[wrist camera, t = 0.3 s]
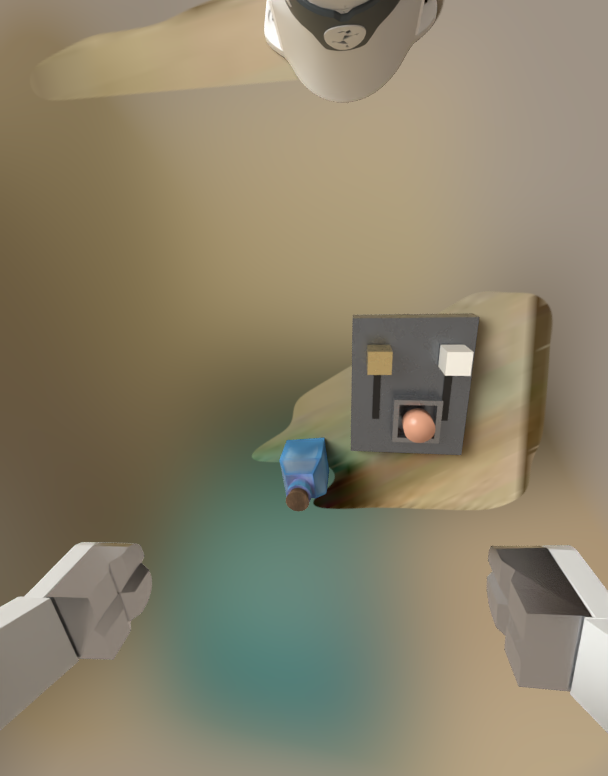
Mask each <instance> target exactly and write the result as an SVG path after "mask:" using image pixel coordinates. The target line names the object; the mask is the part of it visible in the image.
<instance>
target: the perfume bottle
mask: <svg viewBox="0 0 608 776" xmlns="http://www.w3.org/2000/svg"><path fill="white" fill-rule="evenodd" d="M280 465H281V470H282V475H283V480H284V485H285V491H286V495H287V498H286V503H287V505H288V507H289V508H291V509H292V510H294V511H303V510H305V509H306V508H307V507H308V505H309V502H310V500H311V498H317V497H320V496H322V495H324V494H326V492H327V484H328V476H329V475H328V474H329V467H328V460H327V453H326V446H325V439H324V438H313V439H299V440H287V441H286V444H285V447H284V450H283V452H282V455H281V458H280Z"/></svg>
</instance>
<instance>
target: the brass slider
mask: <svg viewBox="0 0 608 776" xmlns="http://www.w3.org/2000/svg"><path fill="white" fill-rule="evenodd" d="M392 357H393V351H392V349H391V346H390V345H367V375H392Z"/></svg>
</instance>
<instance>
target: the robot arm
mask: <svg viewBox="0 0 608 776" xmlns="http://www.w3.org/2000/svg"><path fill="white" fill-rule="evenodd" d="M424 1H425V0H267V3H266V13H265V24H264V34H265V38H266V41H267V43H268V45H269V46H270V47H271V48H272V49H273V50H275V51H276V52H277V53H279V54H280V55H282V56H283V57H285V58H286V59H287V60H288V62H289V63H290V65H291V66H292V68H293V70H294V72H295V73H296V75H297V76H298V78H299V79H300V81H301V82H302V83H303V84H304V85H305V86H306V87H307V88H308V89H309V90H310V91H311V92H313V93H314V94H316V95H317V96H319V97H321V98H323V99H326V100H329V101H333V102H341V103H344V102H353V101H357V100H361V99H363V98H365V97H368V96H370V95H371V94H373V93H375V92H376V91H378V90H379V89H380V88H381V87H383V86H384V85H385V84H386V83H387V82H388V81H389V79H391V77H392V76H393V75H394V74H395V72H396V71H397V69H398V68H399V66H400V65H401V63H402V61H403V59H404V58H405V56H406V54H407V52H408V51H409V49H410V48H411V46H412V45H413V44H414V43H415V42H416V41H417V40H419V39H420V38H421V37H422V36H423V35H424V34H425V33H426V32H427V31H428V30H429V29H430V28H431V27H432V26H433V24H434V22H435V20H436V15H437V0H427V1H428V2H427V3H426V4H424ZM273 20H274V21H273ZM143 558H144V553H143V551H142V548H141V546H140V545H138V544H135V543H108V542H107V543H106V542H99V543H93V542H82V543H79V544H77V545H75V546H74V547H73V548H72V549H71V550H70V551H69V552H68V553H67V554H66V555H65V556H64V557H63V558H62V559H61V560H60V561H59V562H58V563H57V564H56V565H55V566H54V567H53V568H52V569H51V570H50V571H49V572H48V573H47V574H46V575H45V576H44V577H43V578H42V579H41V580H40V581H39V582H38V583H37V584H36V586H34V588H32V589H31V591H29V592H28V593H27V594H26V596H25V597H17V598H16V599H14V600H12V601H10V602H8V603H7V604H5V605H3V606H1V607H0V730H1V729H2V728H3V727H4V726H6V725H7V724H8V723H9V722H10V721H11V720H12V719H14V718H15V717H16V716H17V715H18V714H19V713H20V712H21V711H22V710H24V709H25V708H26V707H27V706H28V705H29V704H30V703H32V702H33V701H34V700H35V699H36V698H37V697H38V696H40V695H41V694H42V693H43V692H44V691H45V690H46V689H47V688H49V687H50V686H51V685H52V684H53V683H54V682H55V681H56V680H58V679H59V678H60V677H61V676H62V675H63V674H64V673H65V672H66V671H68V670H69V669H70V668H71V667H72V666H73V665H74V664H76V663H77V662H78V661H79V660H78V659H112V660H113V659H114V658H115V656H116V654H117V653H118V651H119V649H120V648H121V646H122V644H123V643H124V641H125V639H126V638H127V636H128V634H129V633H130V631H131V623H130V621H131V620H133V619H134V618H135V617H136V616H138V615H139V614H140V613H142V611H143V609H144V608H145V606H146V604H147V602H148V600H149V597H150V593H151V589H152V578H151V574H150V571H149V569H147V568H146V567H145V566H144V565H143V564H142V563H141V562H142V560H143ZM488 561H489V564H490V566H491V569H492V571H493V572H492V573H491V574H490V575H489V576H488V577H487V595H488V603H489V607H490V610H491V614H492V617H493V620H494V623H495V626H496V627H497V629H499V630H500V631H501V632H502V633H503V634H504V635H505V636H506V637H505V652H506V655H507V657H508V660H509V663H510V665H511V668H512V670H513V673H514V676H515V678H516V681H517V683H518V686H519V687H529V688H539V689H551V690H560V691H571V692H570V695H572V697H573V698H574V699H575V700H576V701H577V702H578V703H579V704H580V705H581V706H582V707H583V708H584V709H585V710H586V711H587V712H588V713H589V714H590V715H591V716H592V717H593V718H594V720H595V721H596V722H597V723H598V724H599V725H600V726H601V727H602V728H603V729H604V730H605V731H606V732H607V733H608V591H607V589H606V588H605V587H604V585H603V584H602V583H601V581H600V580H599V579H598V578H597V577H596V575H595V574H594V572H593V571H592V570H591V568H590V567H589V566H588V564H587V563H586V562H585V560H584V559H583V558H582V557H581V555H580V554H579V553H578V551H577V550H576V549H575V548H573V547H572V546H570V545H564V546H562V545H561V546H560V545H557V546H491V547H490V549H489V555H488Z"/></svg>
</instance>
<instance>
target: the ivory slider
mask: <svg viewBox="0 0 608 776" xmlns="http://www.w3.org/2000/svg"><path fill="white" fill-rule="evenodd" d="M473 353H474V352H473V351H472V350H470V349H469V348H468V347H467V346H465V345H440V354H439V365H438V367H439V368H440V369H441V371H442V372H443V373H444V375H445V376H471V369H472V361H473Z"/></svg>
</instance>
